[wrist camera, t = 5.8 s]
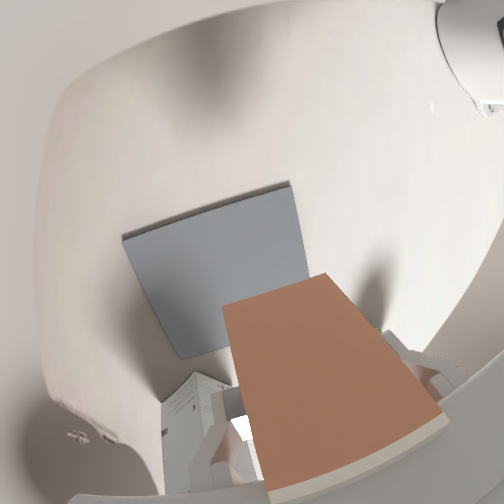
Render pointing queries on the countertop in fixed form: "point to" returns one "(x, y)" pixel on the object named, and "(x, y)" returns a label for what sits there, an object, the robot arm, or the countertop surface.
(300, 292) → the block
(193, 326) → the mat
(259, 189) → the countertop surface
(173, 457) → the skincare box
